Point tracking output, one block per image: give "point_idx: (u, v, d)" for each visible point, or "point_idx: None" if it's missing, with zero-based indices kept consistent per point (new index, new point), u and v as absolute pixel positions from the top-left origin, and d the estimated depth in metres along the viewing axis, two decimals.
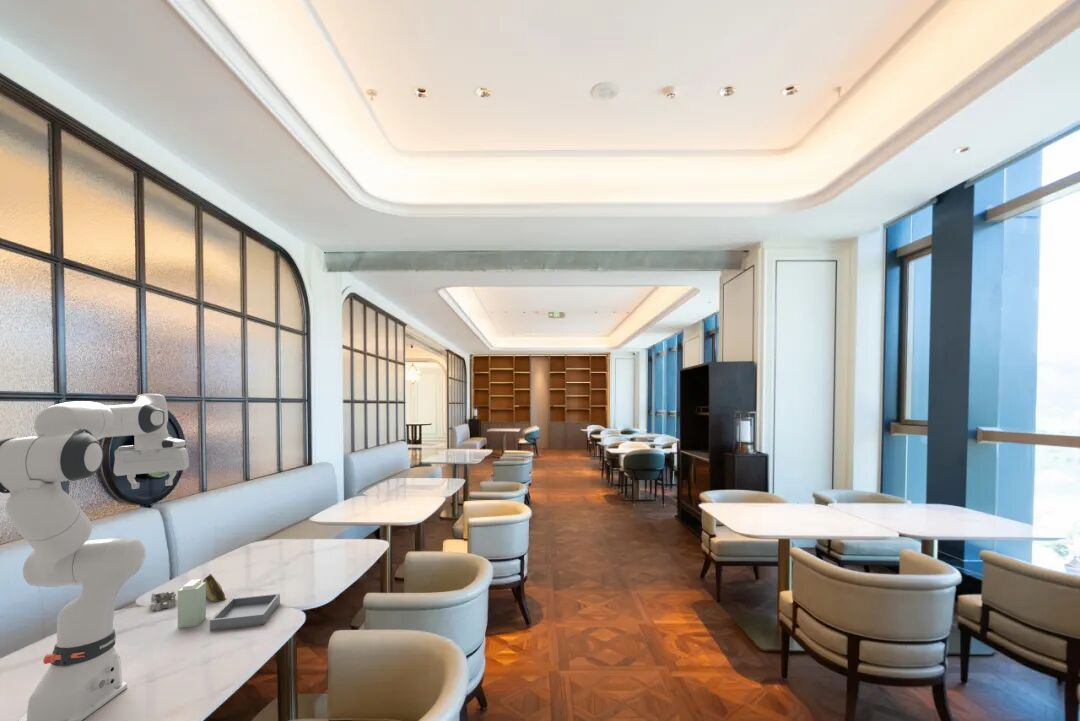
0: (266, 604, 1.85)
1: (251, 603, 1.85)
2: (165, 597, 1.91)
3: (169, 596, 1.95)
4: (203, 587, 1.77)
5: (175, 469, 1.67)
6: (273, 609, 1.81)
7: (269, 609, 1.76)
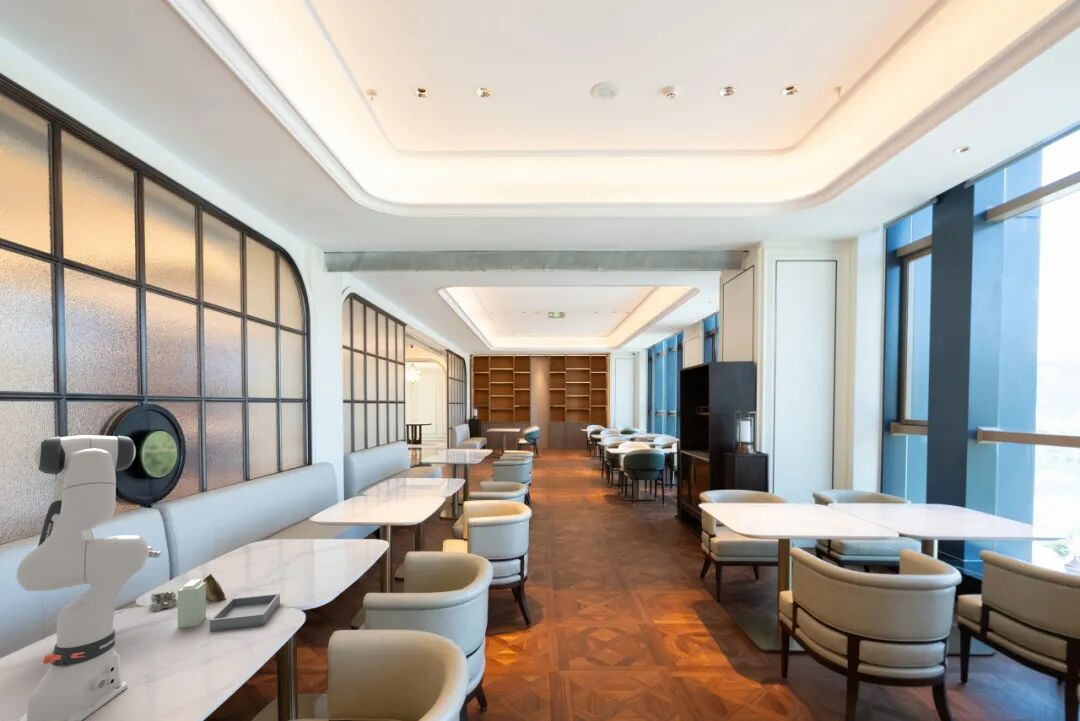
0: (266, 604, 1.85)
1: (251, 603, 1.85)
2: (165, 597, 1.91)
3: (169, 596, 1.95)
4: (203, 587, 1.77)
5: (147, 548, 1.79)
6: (273, 609, 1.81)
7: (269, 609, 1.76)
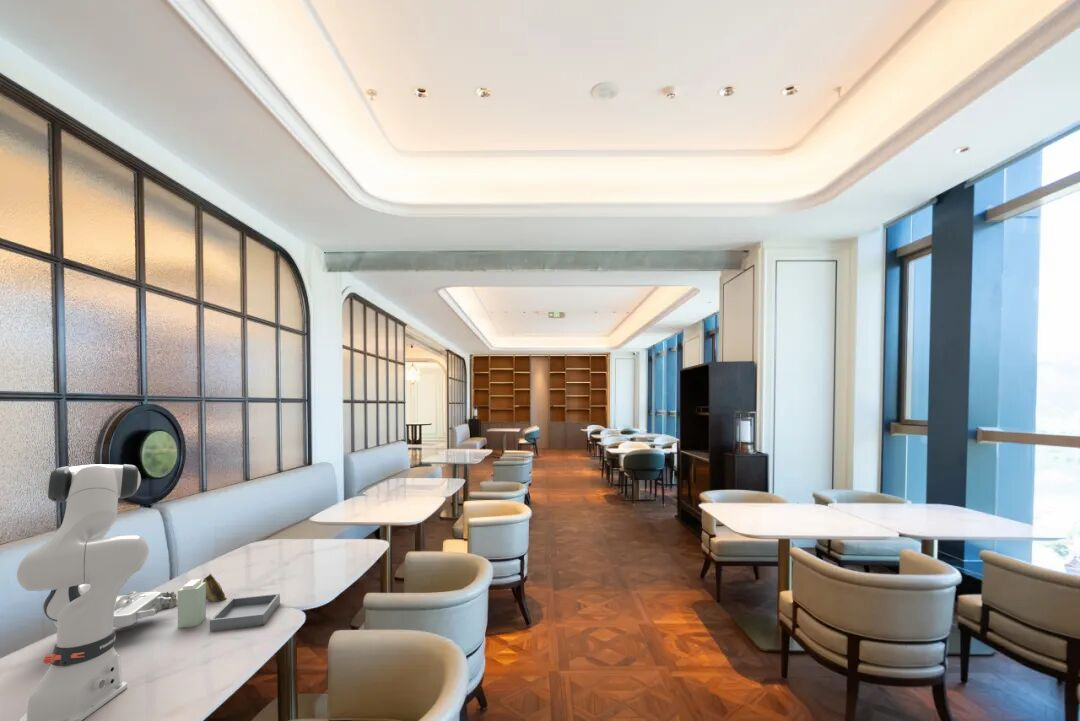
0: (266, 604, 1.85)
1: (251, 603, 1.85)
2: None
3: (169, 596, 1.95)
4: (203, 587, 1.77)
5: (158, 594, 1.79)
6: (273, 609, 1.81)
7: (269, 609, 1.76)
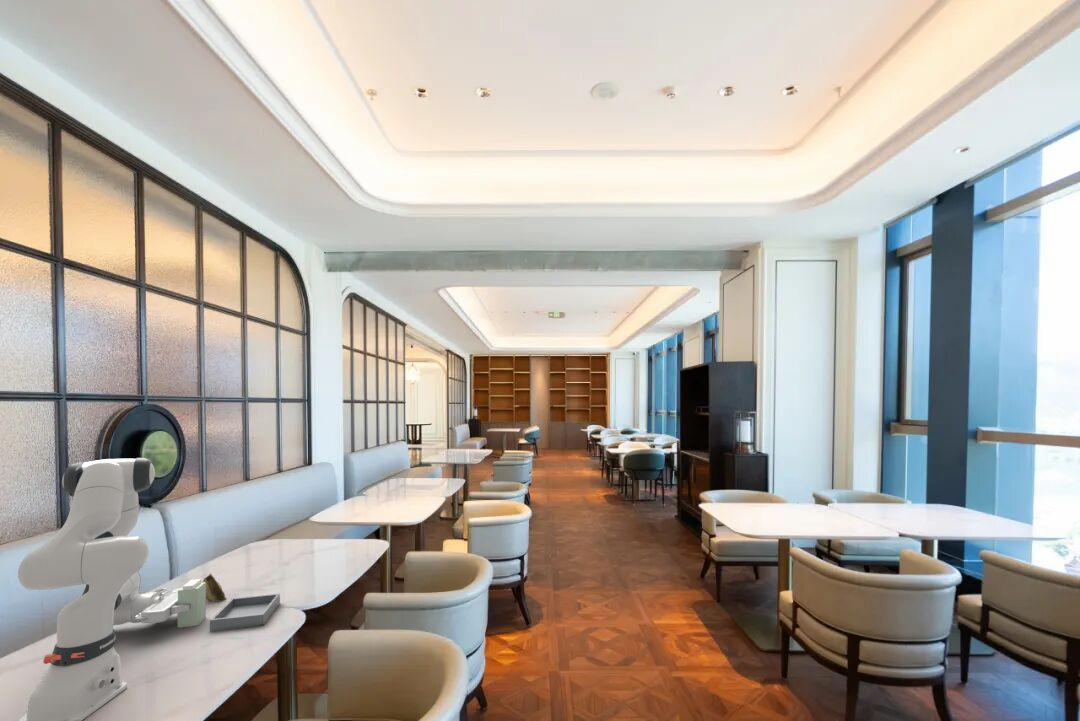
0: (266, 604, 1.85)
1: (251, 603, 1.85)
2: None
3: None
4: (203, 587, 1.77)
5: None
6: (273, 609, 1.81)
7: (269, 609, 1.76)
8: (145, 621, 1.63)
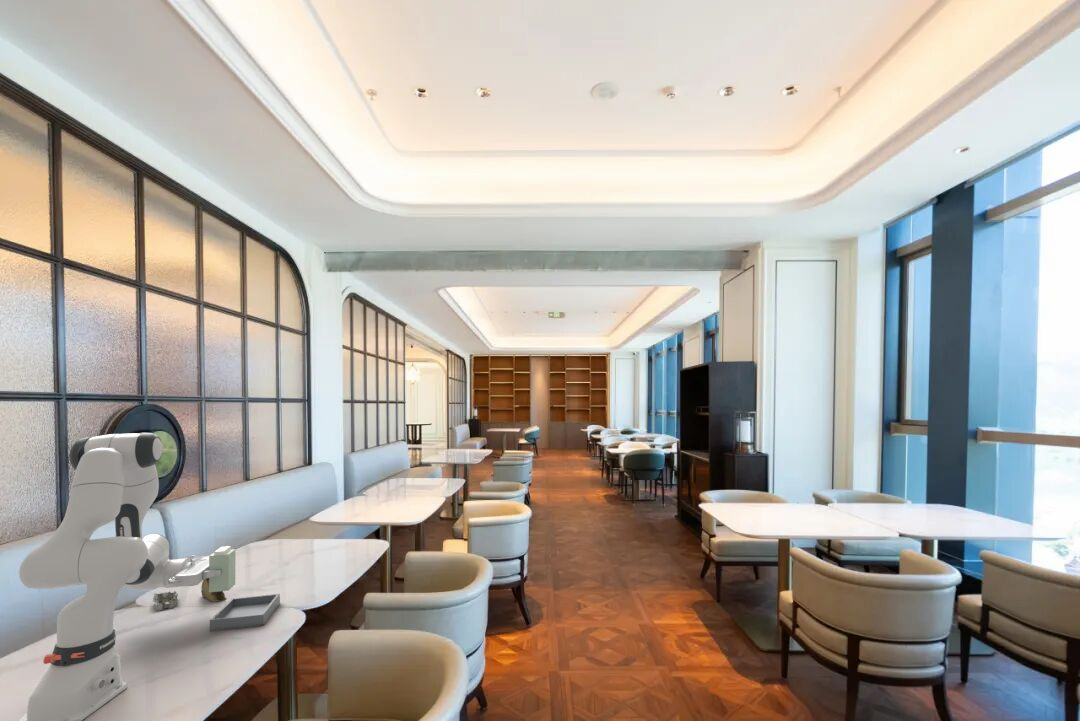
0: (266, 604, 1.85)
1: (251, 603, 1.85)
2: (167, 597, 1.91)
3: (171, 596, 1.96)
4: (233, 553, 1.79)
5: None
6: (273, 609, 1.81)
7: (269, 609, 1.76)
8: (179, 585, 1.66)
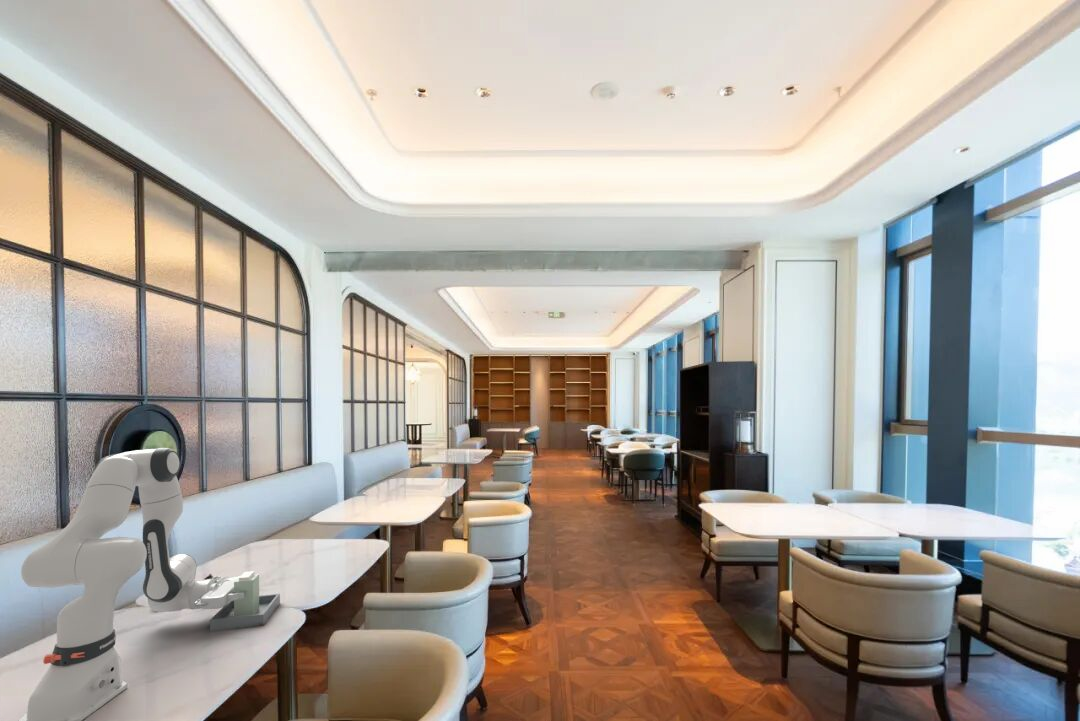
0: (266, 604, 1.85)
1: None
2: None
3: None
4: (257, 579, 1.80)
5: None
6: (273, 609, 1.81)
7: (269, 609, 1.76)
8: (204, 607, 1.67)
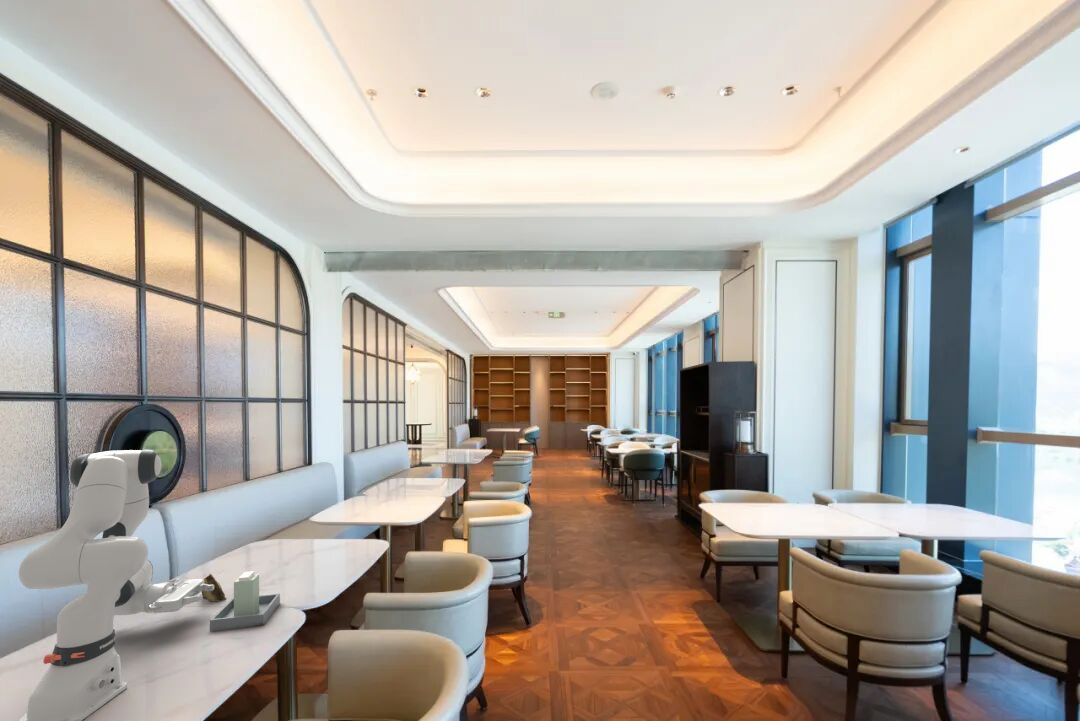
0: (266, 604, 1.85)
1: None
2: None
3: None
4: (257, 579, 1.80)
5: (200, 581, 1.82)
6: (273, 609, 1.81)
7: (269, 609, 1.76)
8: (159, 611, 1.64)
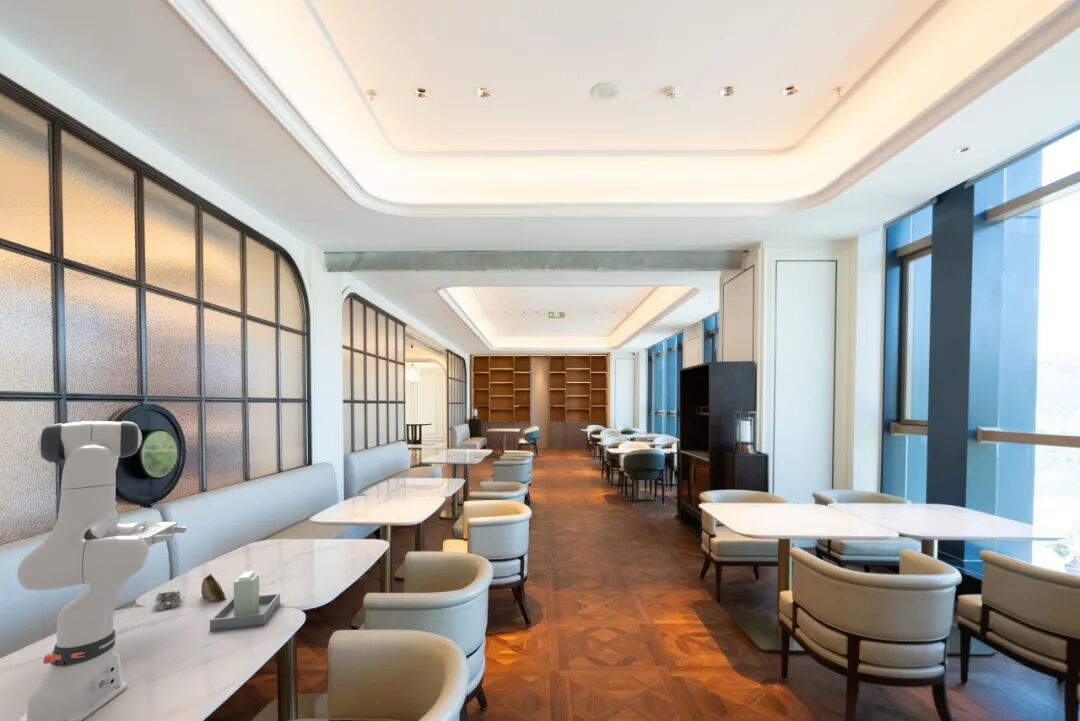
0: (266, 604, 1.85)
1: None
2: (170, 596, 1.92)
3: (175, 595, 1.96)
4: (257, 579, 1.80)
5: (173, 523, 1.81)
6: (273, 609, 1.81)
7: (269, 609, 1.76)
8: None
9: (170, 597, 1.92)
